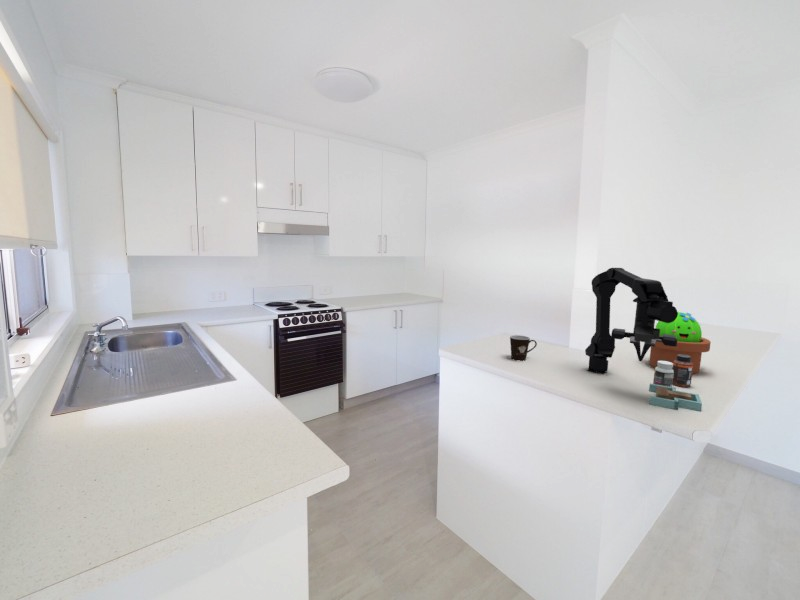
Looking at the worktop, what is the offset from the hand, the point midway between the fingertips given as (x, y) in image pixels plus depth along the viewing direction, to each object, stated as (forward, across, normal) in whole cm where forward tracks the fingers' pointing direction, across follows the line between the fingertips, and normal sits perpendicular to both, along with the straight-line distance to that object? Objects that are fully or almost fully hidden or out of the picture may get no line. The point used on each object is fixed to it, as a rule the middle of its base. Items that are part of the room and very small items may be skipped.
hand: (640, 360), depth 129 cm
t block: (+12, +10, -2) cm, 16 cm away
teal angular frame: (+12, +11, -2) cm, 16 cm away
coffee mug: (+12, -45, +18) cm, 50 cm away
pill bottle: (+12, +8, +10) cm, 18 cm away
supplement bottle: (+12, +14, +20) cm, 27 cm away
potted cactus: (+12, +13, +44) cm, 47 cm away
